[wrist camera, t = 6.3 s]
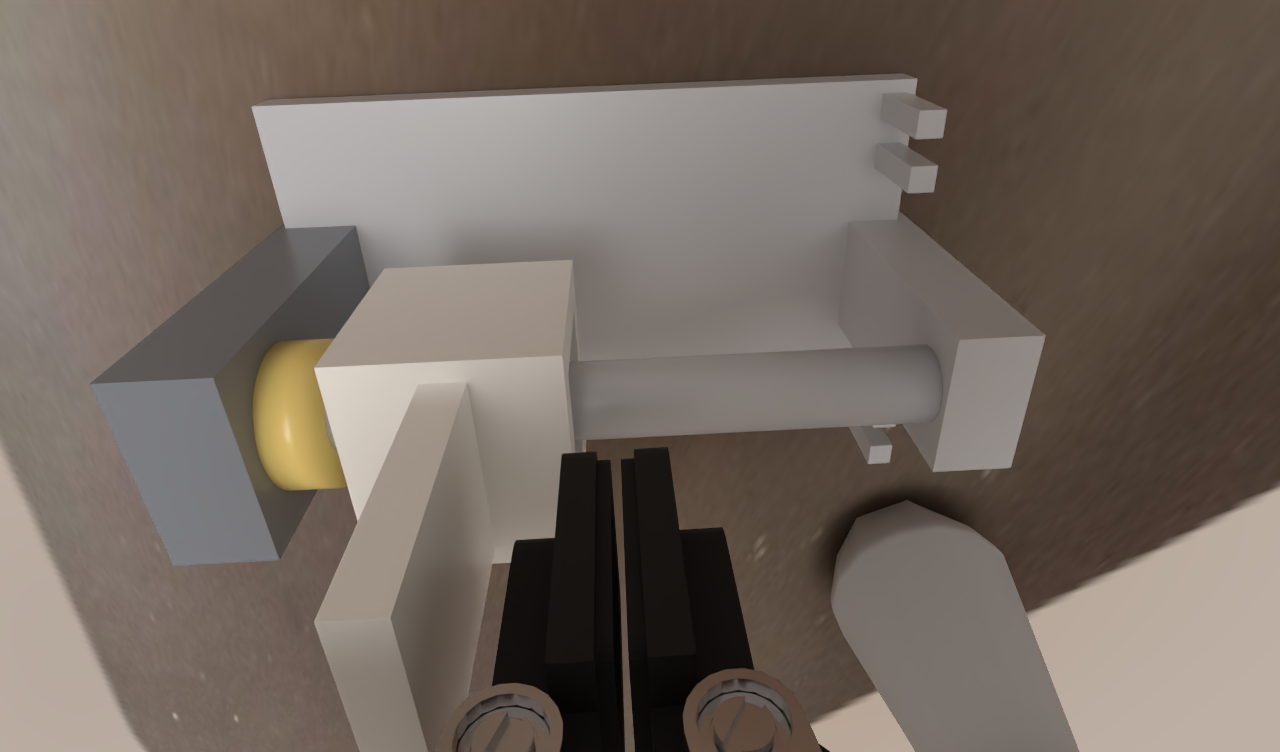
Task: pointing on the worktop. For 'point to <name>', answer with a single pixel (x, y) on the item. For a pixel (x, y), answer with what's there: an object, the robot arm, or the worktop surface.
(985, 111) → the worktop surface
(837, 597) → the salt shaker
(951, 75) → the worktop surface
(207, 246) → the worktop surface
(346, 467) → the square collar block
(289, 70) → the worktop surface
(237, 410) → the slider rail rig
